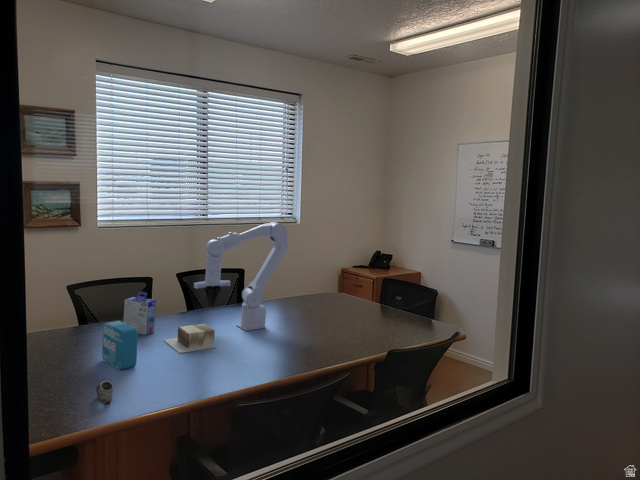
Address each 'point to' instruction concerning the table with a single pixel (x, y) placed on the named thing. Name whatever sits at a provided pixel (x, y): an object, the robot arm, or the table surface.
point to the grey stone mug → (105, 391)
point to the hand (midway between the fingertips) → (211, 305)
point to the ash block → (195, 335)
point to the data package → (119, 344)
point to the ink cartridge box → (140, 313)
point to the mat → (182, 348)
